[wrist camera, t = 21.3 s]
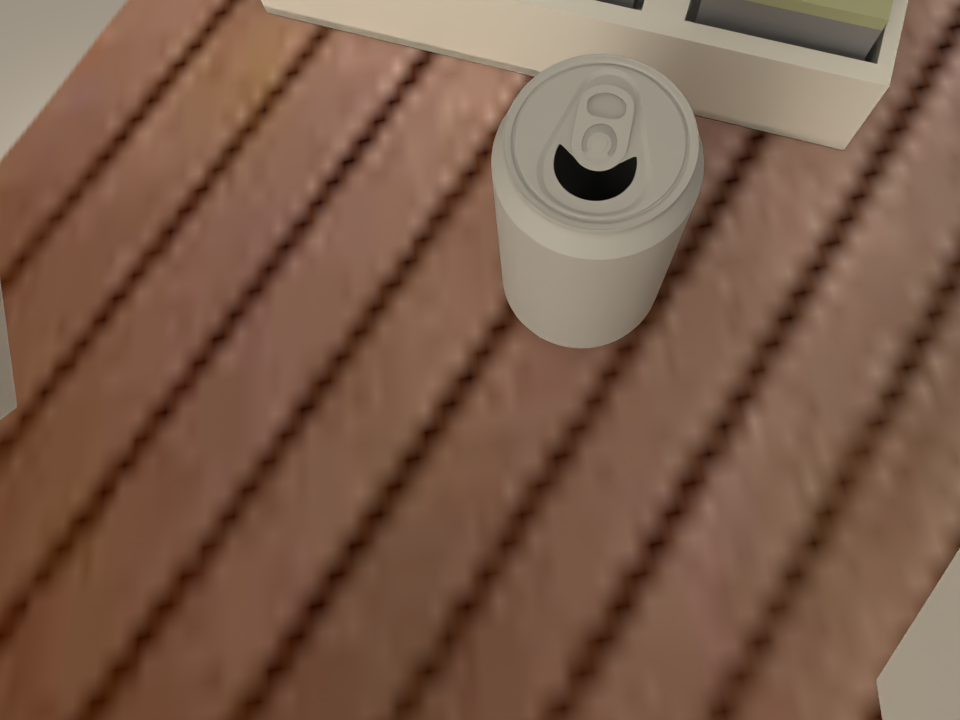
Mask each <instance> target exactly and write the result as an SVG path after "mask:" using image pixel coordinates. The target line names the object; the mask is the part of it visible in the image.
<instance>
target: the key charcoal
mask: <svg viewBox="0 0 960 720" xmlns="http://www.w3.org/2000/svg"><path fill="white" fill-rule="evenodd" d="M596 1H600V2H605V3H609V4H614V5H618V6H622V7H627V8H631V9H635V6H636V3H637V0H596Z"/></svg>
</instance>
